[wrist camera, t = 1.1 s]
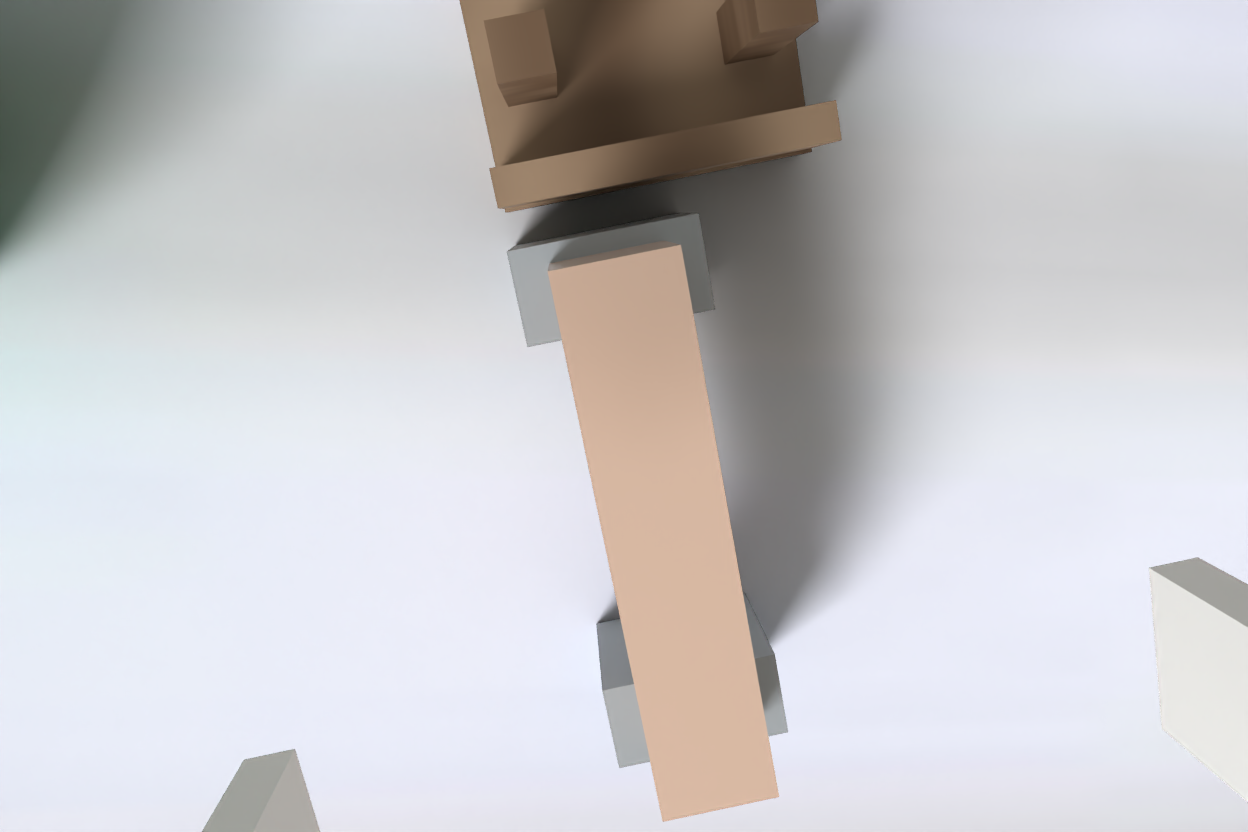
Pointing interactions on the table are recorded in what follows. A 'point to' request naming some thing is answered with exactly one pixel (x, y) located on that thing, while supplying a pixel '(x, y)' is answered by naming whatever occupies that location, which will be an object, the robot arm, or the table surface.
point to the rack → (638, 91)
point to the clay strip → (665, 523)
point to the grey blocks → (544, 328)
